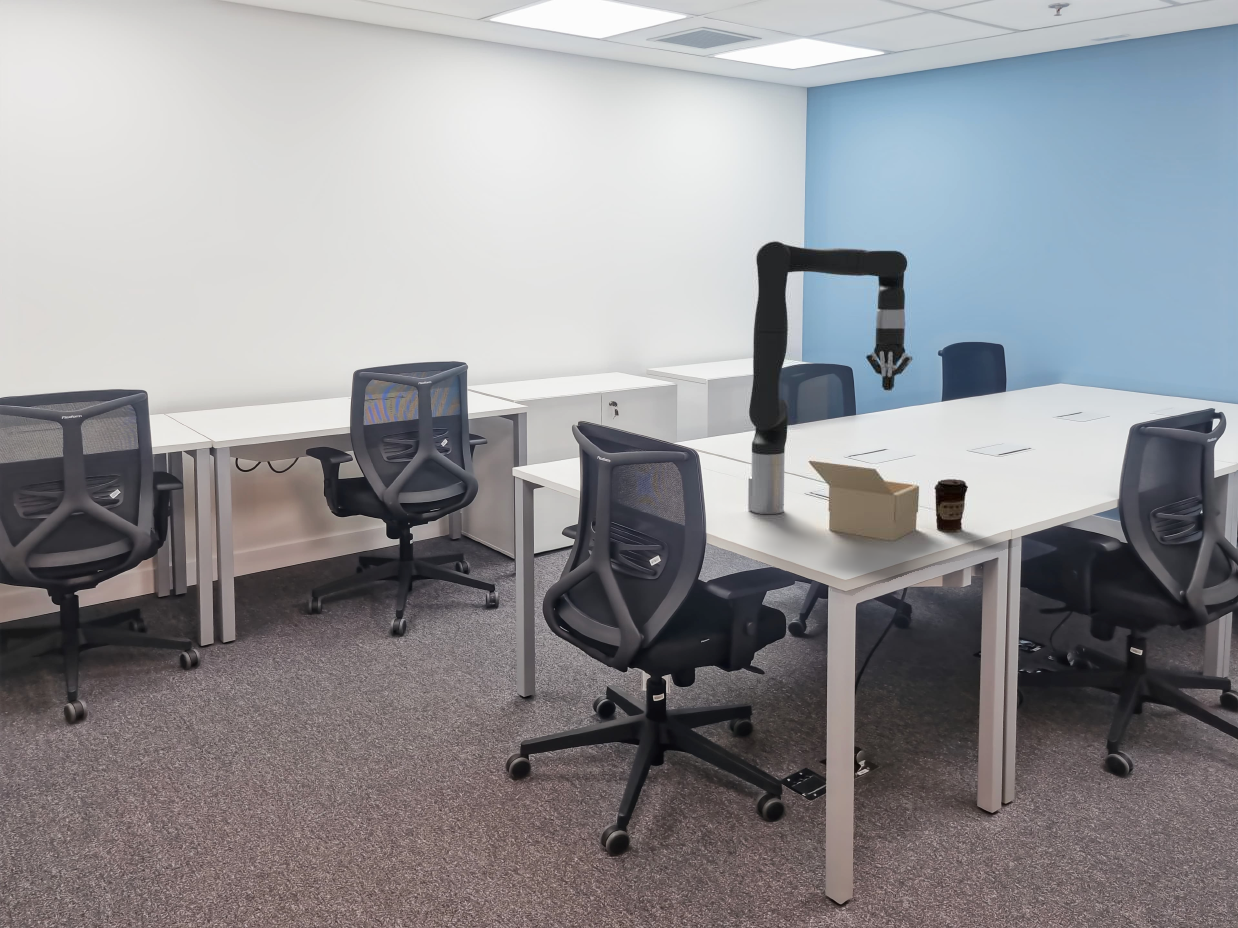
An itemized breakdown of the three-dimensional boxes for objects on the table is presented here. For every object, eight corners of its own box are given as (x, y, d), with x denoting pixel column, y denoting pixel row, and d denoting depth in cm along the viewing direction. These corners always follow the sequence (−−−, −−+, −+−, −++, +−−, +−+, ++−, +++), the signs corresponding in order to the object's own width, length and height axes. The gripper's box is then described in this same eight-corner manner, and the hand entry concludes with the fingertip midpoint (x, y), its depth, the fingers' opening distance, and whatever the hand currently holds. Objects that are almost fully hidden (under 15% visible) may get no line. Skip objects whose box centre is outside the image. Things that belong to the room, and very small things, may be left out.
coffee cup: (971, 533, 261) (974, 484, 258) (939, 534, 260) (942, 485, 258) (958, 524, 269) (961, 477, 267) (928, 525, 269) (930, 478, 266)
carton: (827, 529, 267) (828, 485, 264) (852, 518, 277) (853, 476, 275) (894, 541, 255) (896, 495, 252) (918, 529, 265) (919, 485, 263)
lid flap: (830, 484, 264) (829, 486, 264) (809, 460, 254) (808, 462, 254) (894, 493, 253) (893, 495, 252) (875, 468, 243) (874, 470, 242)
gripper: (861, 326, 273) (859, 389, 276) (907, 327, 265) (904, 393, 268) (873, 324, 279) (871, 387, 282) (919, 326, 270) (916, 390, 274)
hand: (888, 390), depth 275 cm, fingers closed
